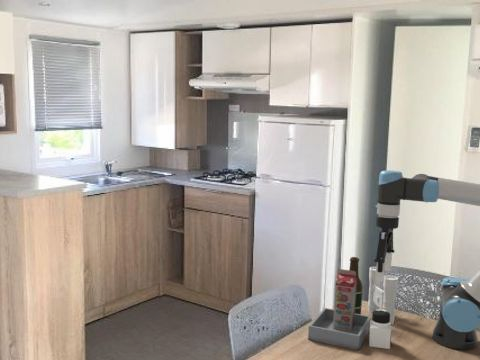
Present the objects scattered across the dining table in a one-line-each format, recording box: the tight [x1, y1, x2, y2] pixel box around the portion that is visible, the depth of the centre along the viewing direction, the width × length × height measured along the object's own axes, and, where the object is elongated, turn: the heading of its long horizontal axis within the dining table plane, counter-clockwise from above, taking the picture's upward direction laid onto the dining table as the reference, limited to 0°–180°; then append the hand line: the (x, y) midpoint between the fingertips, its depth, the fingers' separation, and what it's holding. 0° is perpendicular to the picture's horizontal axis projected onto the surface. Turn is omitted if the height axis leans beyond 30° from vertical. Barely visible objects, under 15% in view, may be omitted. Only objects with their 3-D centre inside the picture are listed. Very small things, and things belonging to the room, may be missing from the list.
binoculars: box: [367, 266, 399, 325], centre depth 218 cm, size 17×5×18 cm, turn 14°
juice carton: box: [333, 268, 357, 332], centre depth 203 cm, size 7×7×22 cm
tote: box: [307, 307, 372, 351], centre depth 200 cm, size 18×20×5 cm
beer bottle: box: [349, 256, 364, 315], centre depth 217 cm, size 8×8×24 cm
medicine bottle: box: [368, 309, 393, 350], centre depth 192 cm, size 7×7×12 cm
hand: (383, 275), depth 190 cm, fingers open, 13 cm apart
